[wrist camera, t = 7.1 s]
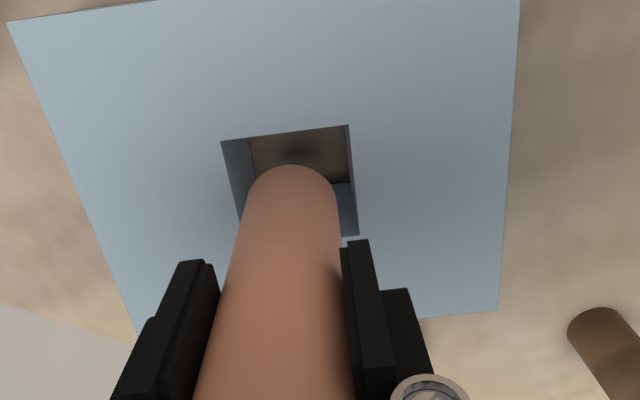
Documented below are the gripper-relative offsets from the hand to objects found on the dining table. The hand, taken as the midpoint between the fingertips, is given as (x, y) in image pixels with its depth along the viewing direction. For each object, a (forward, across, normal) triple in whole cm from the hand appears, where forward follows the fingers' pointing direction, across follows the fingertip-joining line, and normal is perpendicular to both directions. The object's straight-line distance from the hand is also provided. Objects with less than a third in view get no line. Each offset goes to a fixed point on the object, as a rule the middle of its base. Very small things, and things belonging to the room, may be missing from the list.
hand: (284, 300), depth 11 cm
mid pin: (+11, -16, +14) cm, 24 cm away
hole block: (+11, 0, 0) cm, 11 cm away
